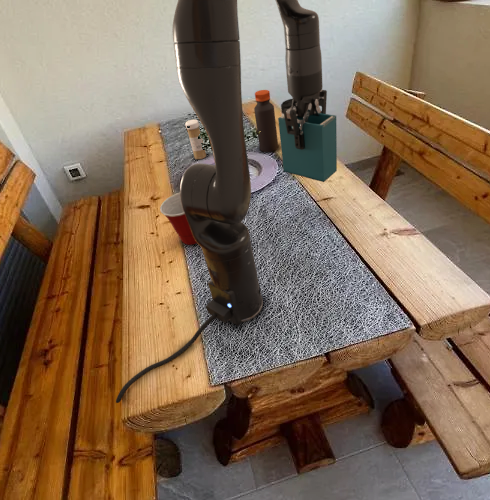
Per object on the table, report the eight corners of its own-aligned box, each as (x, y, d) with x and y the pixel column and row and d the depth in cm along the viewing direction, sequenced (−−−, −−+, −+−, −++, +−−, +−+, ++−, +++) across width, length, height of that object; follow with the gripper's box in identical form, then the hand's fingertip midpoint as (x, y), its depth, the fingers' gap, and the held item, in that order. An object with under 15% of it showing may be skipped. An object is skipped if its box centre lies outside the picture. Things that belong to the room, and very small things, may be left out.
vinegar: (281, 148, 139) (275, 91, 127) (265, 154, 138) (257, 97, 125) (273, 142, 144) (266, 87, 132) (256, 148, 142) (248, 92, 130)
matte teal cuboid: (283, 171, 99) (323, 182, 93) (278, 118, 91) (322, 125, 84) (297, 161, 103) (336, 171, 96) (292, 108, 94) (336, 115, 87)
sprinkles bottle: (205, 152, 145) (197, 117, 137) (207, 158, 142) (198, 122, 133) (193, 155, 145) (184, 120, 136) (194, 160, 142) (185, 125, 133)
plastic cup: (173, 229, 110) (161, 193, 102) (211, 223, 109) (201, 186, 102) (170, 254, 101) (156, 217, 94) (211, 247, 101) (200, 209, 93)
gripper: (299, 81, 76) (304, 159, 87) (337, 59, 84) (337, 133, 95) (269, 78, 80) (277, 152, 91) (308, 57, 88) (311, 128, 99)
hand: (308, 142), depth 93 cm, fingers closed on matte teal cuboid, 6 cm apart
